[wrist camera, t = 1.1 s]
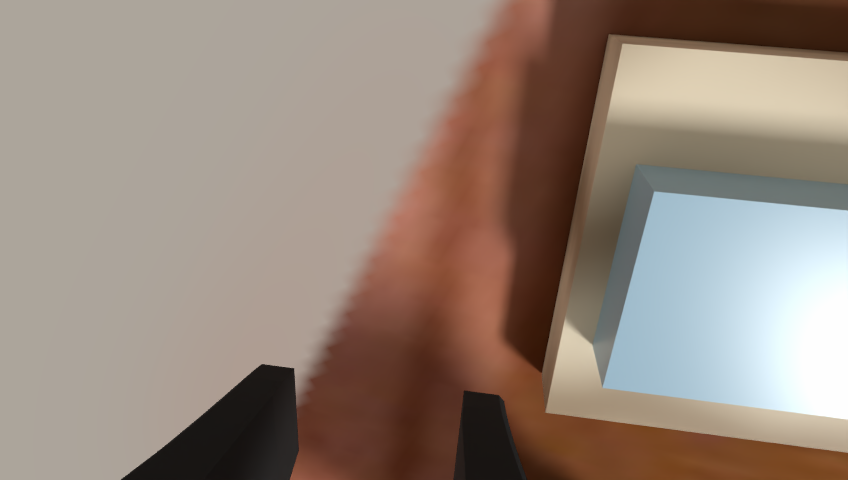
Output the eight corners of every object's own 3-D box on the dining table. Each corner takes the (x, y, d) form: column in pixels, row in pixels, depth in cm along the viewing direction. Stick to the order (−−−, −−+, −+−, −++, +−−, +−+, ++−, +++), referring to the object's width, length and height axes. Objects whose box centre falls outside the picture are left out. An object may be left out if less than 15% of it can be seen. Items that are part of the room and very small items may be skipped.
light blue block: (997, 198, 14) (1068, 232, 13) (894, 381, 17) (940, 431, 15) (635, 164, 15) (654, 191, 13) (592, 344, 18) (602, 387, 16)
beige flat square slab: (882, 417, 20) (919, 462, 18) (541, 373, 21) (545, 412, 19) (1080, 70, 15) (1160, 85, 13) (608, 34, 16) (622, 43, 14)
